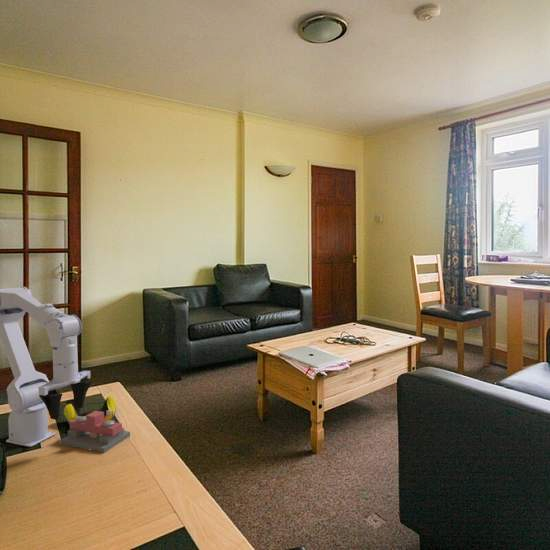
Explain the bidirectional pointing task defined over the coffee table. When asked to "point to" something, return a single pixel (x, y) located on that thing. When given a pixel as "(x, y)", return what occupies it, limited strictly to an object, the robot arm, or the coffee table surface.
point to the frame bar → (96, 424)
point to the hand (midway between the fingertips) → (67, 412)
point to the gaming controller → (107, 408)
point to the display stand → (93, 440)
